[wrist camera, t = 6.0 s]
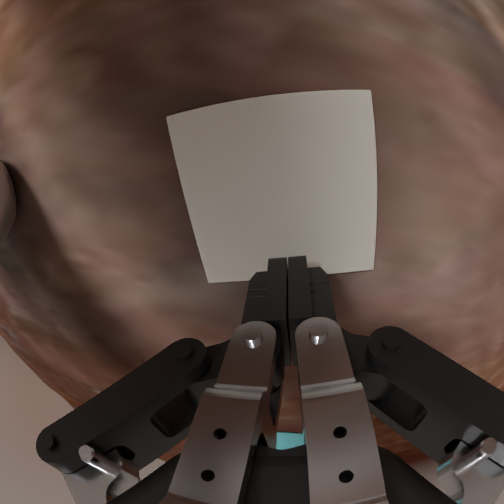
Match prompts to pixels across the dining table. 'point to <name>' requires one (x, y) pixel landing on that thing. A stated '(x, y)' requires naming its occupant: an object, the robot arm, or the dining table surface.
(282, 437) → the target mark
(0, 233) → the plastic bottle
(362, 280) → the dining table surface
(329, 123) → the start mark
